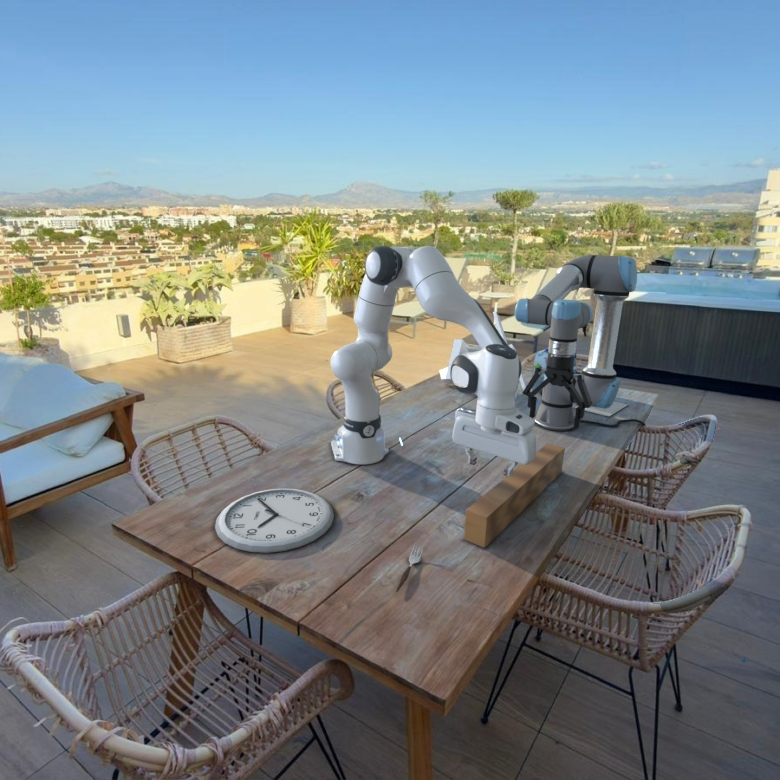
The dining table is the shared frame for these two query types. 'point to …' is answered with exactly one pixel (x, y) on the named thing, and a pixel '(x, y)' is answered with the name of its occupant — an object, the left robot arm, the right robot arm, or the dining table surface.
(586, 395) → the right robot arm
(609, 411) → the invitation card
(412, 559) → the fork
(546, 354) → the lunch box
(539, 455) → the post
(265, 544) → the wall clock
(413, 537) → the dining table surface
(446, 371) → the white plastic object
